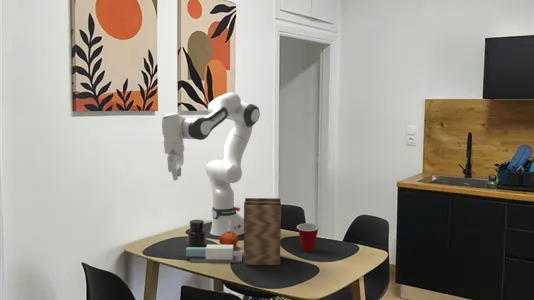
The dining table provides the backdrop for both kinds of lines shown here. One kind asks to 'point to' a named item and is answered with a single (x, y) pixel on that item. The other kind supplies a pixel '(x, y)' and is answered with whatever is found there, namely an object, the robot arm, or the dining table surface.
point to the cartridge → (212, 252)
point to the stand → (262, 231)
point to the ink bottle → (196, 234)
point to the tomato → (229, 239)
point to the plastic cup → (308, 236)
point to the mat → (236, 259)
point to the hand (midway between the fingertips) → (177, 178)
